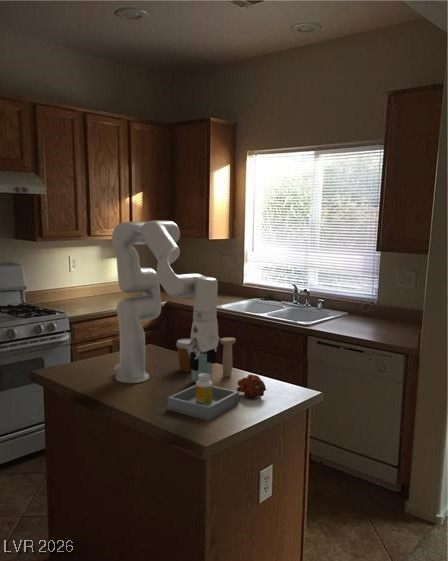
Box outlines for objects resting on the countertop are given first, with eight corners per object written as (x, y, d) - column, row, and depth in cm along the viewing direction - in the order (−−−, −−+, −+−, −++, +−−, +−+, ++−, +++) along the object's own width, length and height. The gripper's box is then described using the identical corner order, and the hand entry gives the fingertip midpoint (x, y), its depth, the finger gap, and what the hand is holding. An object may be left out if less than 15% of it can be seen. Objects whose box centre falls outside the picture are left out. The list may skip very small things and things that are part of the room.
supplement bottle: (205, 407, 161) (206, 378, 160) (192, 404, 164) (192, 375, 163) (215, 403, 165) (215, 374, 164) (201, 399, 168) (202, 371, 167)
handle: (237, 376, 198) (238, 338, 196) (225, 379, 193) (226, 341, 191) (228, 373, 201) (229, 336, 199) (217, 376, 197) (217, 339, 195)
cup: (202, 377, 195) (202, 352, 194) (215, 382, 189) (216, 356, 188) (187, 381, 189) (187, 356, 188) (200, 386, 184) (201, 360, 183)
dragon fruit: (263, 406, 169) (238, 402, 178) (275, 387, 174) (250, 384, 183) (251, 390, 166) (226, 386, 174) (264, 371, 170) (239, 368, 179)
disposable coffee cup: (171, 369, 205) (171, 340, 204) (189, 364, 212) (189, 337, 210) (185, 374, 198) (185, 345, 197) (203, 370, 205) (204, 341, 203)
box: (167, 409, 161) (167, 397, 161) (199, 393, 176) (199, 382, 176) (208, 420, 153) (208, 408, 152) (238, 403, 168) (238, 391, 167)
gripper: (198, 321, 152) (196, 375, 154) (228, 313, 166) (226, 362, 169) (179, 317, 156) (177, 370, 158) (210, 309, 170) (208, 358, 173)
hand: (202, 366), depth 163 cm, fingers open, 9 cm apart
